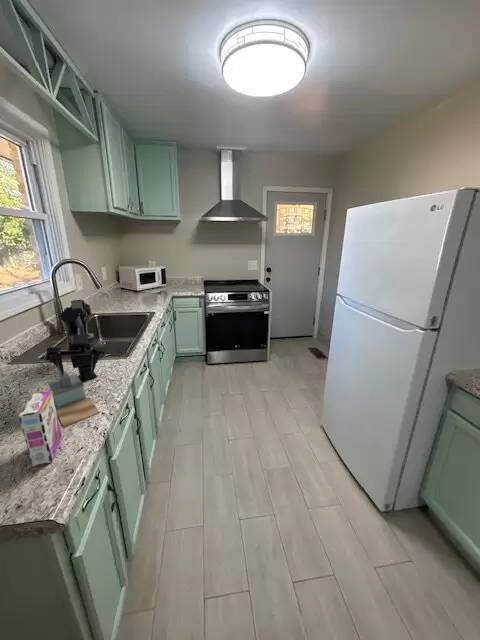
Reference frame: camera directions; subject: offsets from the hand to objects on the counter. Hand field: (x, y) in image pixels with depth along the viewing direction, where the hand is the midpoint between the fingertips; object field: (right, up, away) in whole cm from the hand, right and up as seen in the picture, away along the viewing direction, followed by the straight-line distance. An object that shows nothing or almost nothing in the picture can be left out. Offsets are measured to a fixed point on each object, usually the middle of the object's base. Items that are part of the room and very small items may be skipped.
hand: (78, 374), depth 95 cm
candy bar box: (+2, -19, -17) cm, 25 cm away
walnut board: (0, -13, 0) cm, 13 cm away
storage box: (-9, -11, +8) cm, 16 cm away
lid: (-9, -7, +7) cm, 13 cm away
